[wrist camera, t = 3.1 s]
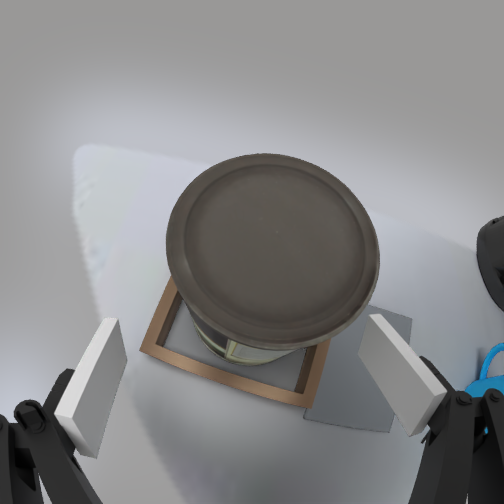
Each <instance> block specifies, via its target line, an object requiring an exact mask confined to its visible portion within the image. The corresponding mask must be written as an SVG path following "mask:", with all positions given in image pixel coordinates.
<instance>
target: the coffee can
mask: <svg viewBox="0 0 504 504" xmlns="http://www.w3.org/2000/svg"><path fill="white" fill-rule="evenodd" d="M166 254H167V261H168V266H169V269H170V272H171V275H172V278H173V281H174V283H175V285H176V287H177V290H178V291H179V293H180V295H181V296H182V298H183V300H184V301H185V303H186V305H187V308H188V310H189V312H190V314H191V317H192V319H193V322H194V326H195V329H196V331H197V333H198V335H199V337H200V339H201V340H202V342H203V343H204V344H205V346H206V347H207V348H208V349H209V350H210V351H211V352H213V353H214V354H215V355H217V356H218V357H220V358H222V359H223V360H225V361H227V362H230V363H233V364H238V365H244V366H255V365H262V364H266V363H269V362H272V361H274V360H276V359H278V358H279V357H281V356H284V355H287V354H289V353H291V352H294V351H296V350H298V349H301V348H306V347H310V346H313V345H316V344H319V343H322V342H324V341H326V340H328V339H330V338H332V337H334V336H336V335H338V334H339V333H340V332H342V331H343V330H344V329H346V328H347V327H348V326H349V325H351V324H352V323H353V322H354V321H355V320H356V319H357V318H358V317H359V315H360V314H361V313H362V312H363V310H364V309H365V307H366V306H367V304H368V302H369V301H370V299H371V297H372V294H373V292H374V289H375V287H376V283H377V280H378V275H379V267H380V253H379V245H378V239H377V236H376V232H375V229H374V227H373V224H372V222H371V220H370V217H369V215H368V214H367V212H366V210H365V208H364V207H363V205H362V204H361V203H360V201H359V200H358V199H357V198H356V196H355V195H354V194H353V193H352V192H351V190H350V189H349V188H348V187H347V186H346V185H345V184H343V183H342V182H341V181H340V180H339V179H337V178H336V177H334V176H333V175H332V174H330V173H329V172H327V171H326V170H324V169H322V168H320V167H318V166H316V165H314V164H312V163H309V162H306V161H304V160H301V159H298V158H294V157H290V156H285V155H280V154H267V153H263V154H252V155H244V156H239V157H236V158H232V159H229V160H226V161H223V162H221V163H218V164H216V165H214V166H212V167H210V168H209V169H207V170H206V171H204V172H203V173H201V174H200V175H199V176H198V177H196V178H195V179H194V180H193V181H192V182H191V183H190V184H189V185H188V187H187V188H186V189H185V190H184V192H183V193H182V194H181V196H180V197H179V199H178V201H177V202H176V204H175V206H174V208H173V210H172V213H171V215H170V219H169V222H168V227H167V233H166Z"/></svg>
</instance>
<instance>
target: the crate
mask: <svg viewBox="0 0 504 504" xmlns="http://www.w3.org/2000/svg"><path fill="white" fill-rule="evenodd" d="M182 299H183V298H182V296H181V295H180V293H179V291H178V290H177V287H176V285H175V283H174V281H173V278H172V275H171V277H170V279H169V281H168V284H167V286H166V288H165V290H164V293H163V295H162V297H161V299H160V302H159V304H158V306H157V309H156V311H155V313H154V316H153V318H152V321H151V323H150V325H149V328H148V330H147V333H146V335H145V337H144V340H143V342H142V345H141V347H140V350H139V351H141V352H144V353H146V354H148V355H150V356H153V357H155V358H157V359H159V360H162V361H164V362H167V363H169V364H171V365H174V366H176V367H179V368H181V369H184V370H186V371H189V372H191V373H194V374H197V375H199V376H202V377H205V378H207V379H210V380H213V381H216V382H219V383H222V384H225V385H228V386H230V387H234V388H237V389H240V390H243V391H246V392H249V393H253V394H256V395H259V396H263V397H266V398H270V399H273V400H277V401H281V402H284V403H288V404H292V405H296V406H300V407H304V408H309V409H312V406H313V402H314V399H315V396H316V392H317V389H318V386H319V382H320V379H321V375H322V372H323V368H324V364H325V360H326V357H327V353H328V349H329V345H330V341H331V338H330V339H328V340H326V341H324V342H322V343H319V344H316V345H313V346H310V347H307V351H306V354H305V358H304V361H303V365H302V368H301V372H300V375H299V378H298V382H297V385H296V388H295V391H294V392H292V391H288V390H284V389H281V388H277V387H274V386H270V385H267V384H263V383H260V382H257V381H254V380H250V379H247V378H244V377H241V376H238V375H235V374H232V373H229V372H226V371H223V370H220V369H217V368H215V367H212V366H209V365H206V364H204V363H201V362H198V361H196V360H193V359H190V358H188V357H185V356H183V355H180V354H178V353H175V352H173V351H170V350H168V349H166V348H163V346H164V343H165V341H166V338H167V336H168V333H169V331H170V328H171V326H172V323H173V321H174V318H175V316H176V314H177V311H178V309H179V306H180V304H181V302H182Z"/></svg>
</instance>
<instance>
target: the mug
mask: <svg viewBox="0 0 504 504" xmlns="http://www.w3.org/2000/svg"><path fill="white" fill-rule="evenodd" d="M500 351H504V343H499V344H498V345H496V346H495V347H493V348H492V349H491V351H490V352H489V353H488V354H487V356H486V358H485V361H484V363H483V365H482V369H481V373H480V379H479V380H477V381H475V382H472V383H471V384H470V385H469V386H468V387H467V388H466V390H465V392H467V393H468V394H470V395H471V396H472V397H482V396H483V395H484V393H485V391H486V390H487V389H489V388H495V389H497V390H499V391H500V392H502V393H503V395H504V375H500V376H495V377H491V378H486V376H487V372H488V368H489V365H490V363H491V361H492V359H493V357H494V356H495V355H496V354H497V353H498V352H500ZM485 433H486V434H487V433H488V430H487V428H486V429H485Z"/></svg>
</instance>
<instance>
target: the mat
mask: <svg viewBox="0 0 504 504" xmlns="http://www.w3.org/2000/svg"><path fill="white" fill-rule="evenodd" d="M372 314H381V315H382V316H383V317H384V318H385V319H386V321H387V322H388V323H389V324H390V325H391V326H392V327H393V328H394V329H395V331H396V332H397V333H398V334H399V335H400V336H401V337H402V338H403V340H404V341H405V342H406V343H407V344H408V345H409V339H410V332H411V324H412V319H411V318H408V317H405V316H402V315H399V314H396V313H393V312H389V311H386V310H383V309H380V308H377V307H374V306H371V305H368V304H367V306H366V307H365V309H364V310H363V312H362V313H361V314H360V315H359V317H358V318H357V319H356V320H355V321H354V322H353V323H352V324H351V325H349V326H348V327H347V328H346V329H344V330H343V331H342V332H340V333H339V334H338V335H336V336H334V337H332V338H331V341H330V345H329V349H328V353H327V357H326V360H325V364H324V368H323V372H322V375H321V379H320V382H319V386H318V389H317V392H316V396H315V399H314V402H313V406H312V409H309V408H306V410H305V414H304V417H303V418H304V419H308V420H313V421H317V422H322V423H327V424H333V425H338V426H344V427H350V428H357V429H364V430H371V431H379V432H388V433H389V432H390V428H391V425H392V421H393V418H394V414H395V413H394V411H393V409H392V408H391V406H390V405H389V403H388V401H387V400H386V398H385V396H384V395H383V393H382V392H381V390H380V388H379V387H378V385H377V384H376V382H375V381H374V379H373V377H372V376H371V374H370V373H369V371H368V369H367V368H366V366H365V365H364V363H363V362H362V360H361V358H360V357H359V355H358V352H359V348H360V345H361V342H362V338H363V334H364V331H365V327H366V323H367V320H368V316H369V315H372Z"/></svg>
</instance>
